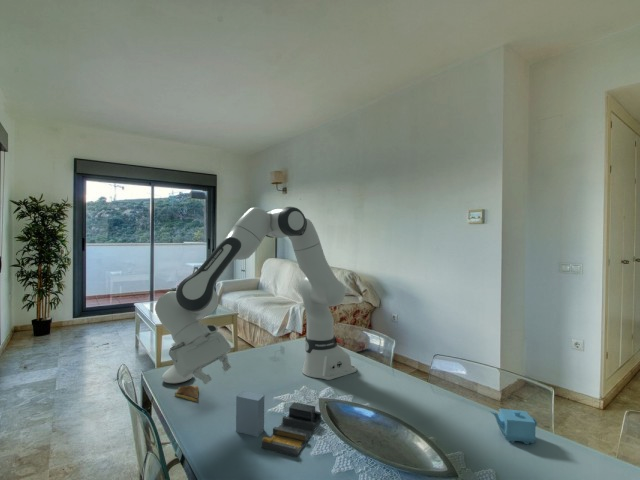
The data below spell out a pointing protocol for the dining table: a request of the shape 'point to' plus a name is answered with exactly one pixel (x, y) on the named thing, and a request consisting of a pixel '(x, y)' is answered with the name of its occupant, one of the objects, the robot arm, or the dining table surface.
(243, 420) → the blue-grey rectangular block
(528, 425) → the teapot
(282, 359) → the dining table surface
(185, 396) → the shard
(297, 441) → the rack
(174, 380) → the flower in vase
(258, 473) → the dining table surface
